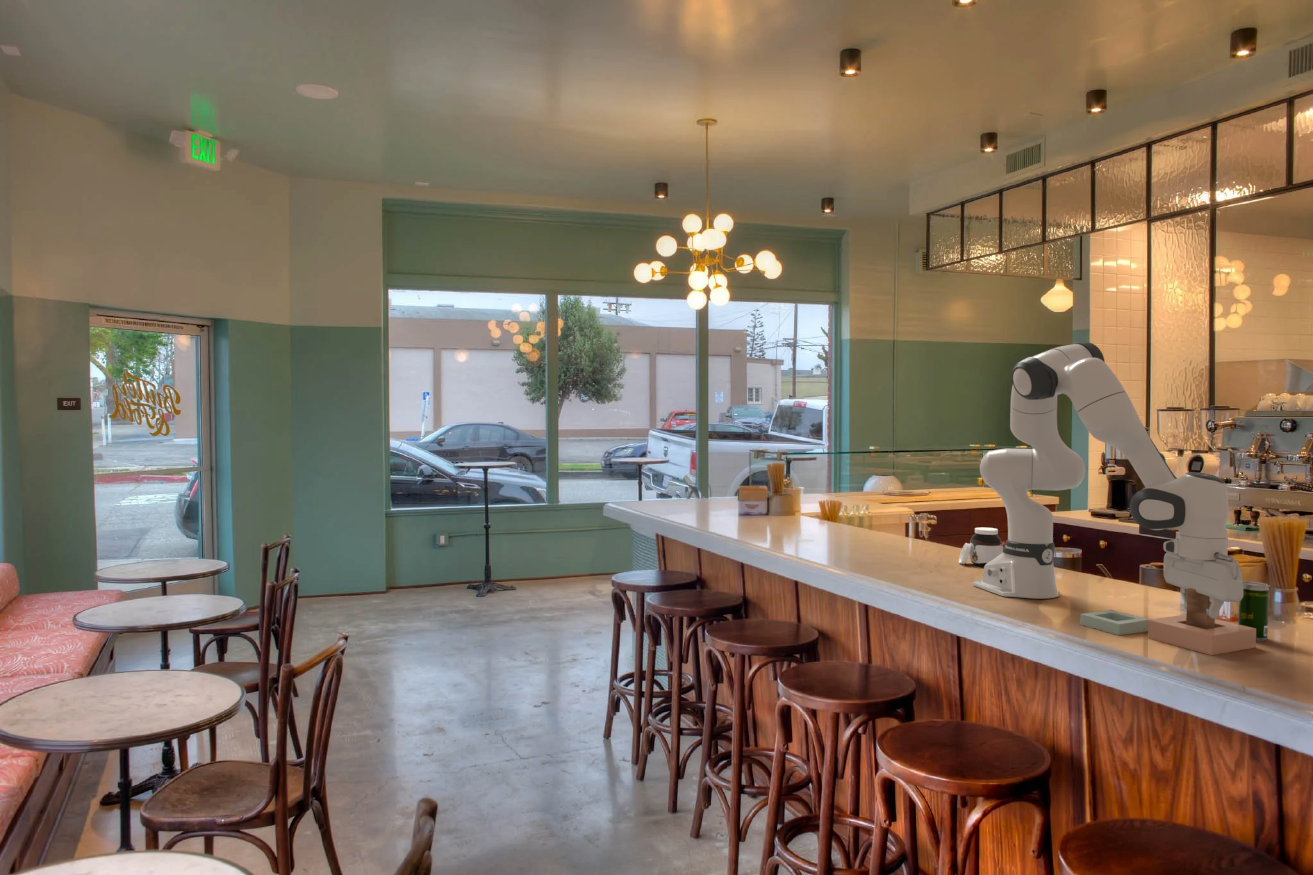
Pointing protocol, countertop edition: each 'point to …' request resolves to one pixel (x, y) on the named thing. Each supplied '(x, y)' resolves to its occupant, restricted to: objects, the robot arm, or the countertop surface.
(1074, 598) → the countertop surface
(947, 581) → the countertop surface
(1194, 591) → the plug
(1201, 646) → the socket block
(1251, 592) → the beer can
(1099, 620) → the green square frame
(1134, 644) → the countertop surface
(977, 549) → the spread jar
